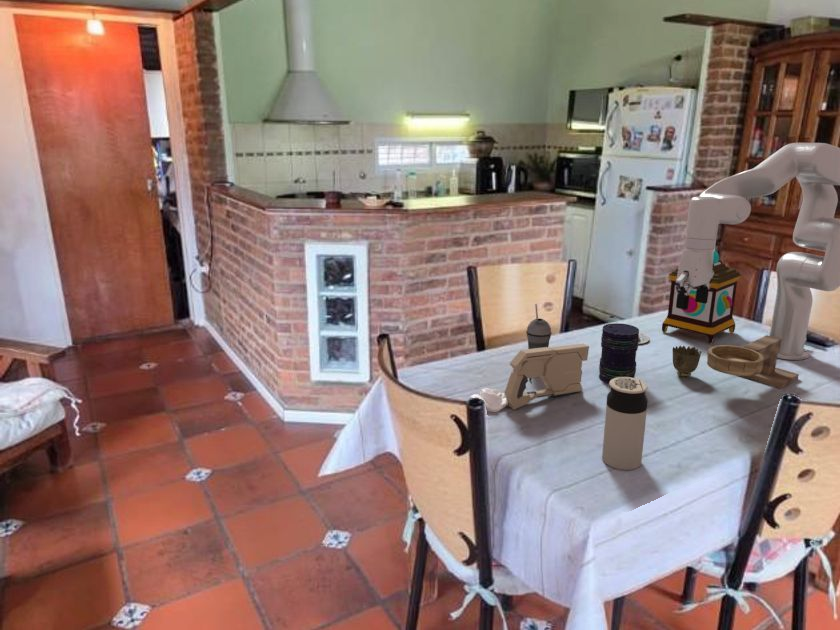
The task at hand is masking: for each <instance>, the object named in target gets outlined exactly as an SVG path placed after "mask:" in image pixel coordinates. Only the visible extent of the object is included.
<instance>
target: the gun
mask: <svg viewBox="0 0 840 630" xmlns="http://www.w3.org/2000/svg"><path fill="white" fill-rule="evenodd" d="M589 349H590V346H589V345H587V344H585V343H576V344H568V345H558V346H550V347H549V346H548V347H543V348H534V349H528V348H527V349H520V350H519V351H518V352H517V354H516V355H515V356H514V358H512V360H510V361H509V365H510V367H512V371H511V373H510V376H509V378H508V382H507V384H506V387H505V390H504V394H505V398H506V400H507V401H508V404H507V407H510V408H511V409H512V410H516V409H519V408H521V407H523V406H525V405H527V404H529V403H531V401H533V400H535V399H538V398H544V397H549V396H553V397H559V396H563V395H569V394H576V393H580V392H582V391H584V390H583V387H582V374H583V370H582V366H583V362H584V361H585V362H586V361H588V357H589V351H590V350H589ZM535 378H540V379H541V380H542V382H543V383H544V385H545V387H546V389H540V390H531V391H527V392H526V391H525V390H526V389H527V383H528V382H529V383H530V384H532V379H535Z"/></svg>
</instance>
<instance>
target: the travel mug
mask: <svg viewBox="0 0 840 630" xmlns="http://www.w3.org/2000/svg"><path fill="white" fill-rule="evenodd" d="M608 385H609V387H610V391H609V392H608V393H607V395H606V404H605V405H606V406H605V416H604V417H605V418H604V427H603V428H604V430H603V439H602V440H603V442H602V454H601V456H602V457H601V458H602V461H603V462H604V463H605V464H607V465H609V467H612V468H615V469H618V470H624V471H625V470H627V471H628V470H635V469H637V468H639V467H640V466H641V465H642V460H643V458H642V457H643V451H644V439H645V432H646V421H647V411H648V403H649V400H648V398H647V395H646V392H647V390H648V388H649V385H648V383H646V382H645V381H644V380H642V379H638V378H636V377H634V378H631V377H617V378H614V379H612V380H610V382H609V384H608Z"/></svg>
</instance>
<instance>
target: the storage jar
mask: <svg viewBox="0 0 840 630" xmlns="http://www.w3.org/2000/svg"><path fill="white" fill-rule="evenodd" d="M609 318H610V319H614V318H615V316H614V315H609ZM639 333H640V328H638V327H636V326H634V325H632V324H627V323H619V322H618V323H617V322H616V323H615V322H614V323H607V324H604V325H603V326H602V332H601V340H600V341H601V342H600V347H601V356H600V359H599V364H598V366H599V367H598V371H599V374H598V378H599V381H601V382H603V383H604V384H608V385H610V384H609V382H610V380H612V379H614V378H617V377H631V378H635V376H636V374H637V373H636V371H637V361H636V359H637V358H636V357H637V351H638V348H639V344H638V343H639V342H640V339H638V337H639V335H638V334H639Z"/></svg>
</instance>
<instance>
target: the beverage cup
mask: <svg viewBox="0 0 840 630" xmlns="http://www.w3.org/2000/svg"><path fill="white" fill-rule="evenodd" d="M534 306H535V317H536V318H535V319H532V320H531V321H530V322H529V323H528V326H527V327H526V338H527V345H528V346H527V349H534V348H543V347H548V348H549V345H550V340H551V337H552V329H551V328H552V327H551V325H550V323H549V322H548V321H547V320H545V319H544V318H539V316H538V315H539V314H538V303H535V305H534Z"/></svg>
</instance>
